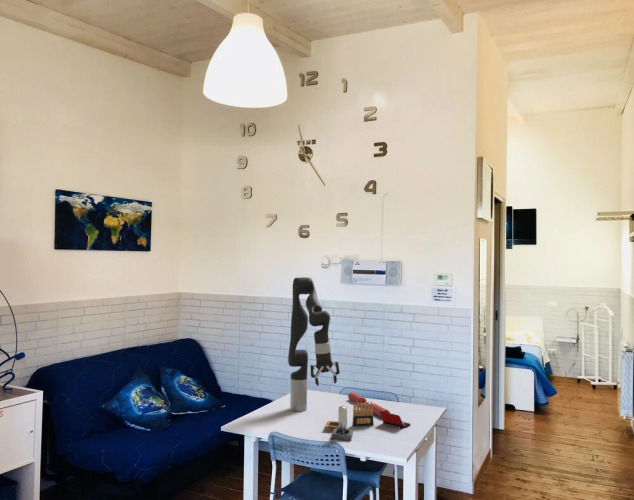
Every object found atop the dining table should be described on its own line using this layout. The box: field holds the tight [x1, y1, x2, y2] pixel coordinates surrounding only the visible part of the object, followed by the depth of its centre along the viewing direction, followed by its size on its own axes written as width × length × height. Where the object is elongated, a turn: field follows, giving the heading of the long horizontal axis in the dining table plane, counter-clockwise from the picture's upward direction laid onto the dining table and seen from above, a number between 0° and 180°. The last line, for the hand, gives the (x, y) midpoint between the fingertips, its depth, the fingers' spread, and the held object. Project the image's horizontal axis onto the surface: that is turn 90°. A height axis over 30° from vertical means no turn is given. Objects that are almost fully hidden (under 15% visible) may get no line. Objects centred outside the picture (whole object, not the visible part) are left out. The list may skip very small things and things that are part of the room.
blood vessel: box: [347, 391, 391, 419], centre depth 306 cm, size 42×5×5 cm, turn 22°
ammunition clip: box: [352, 401, 375, 427], centre depth 274 cm, size 11×2×12 cm, turn 101°
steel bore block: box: [331, 428, 354, 441], centre depth 256 cm, size 9×9×2 cm
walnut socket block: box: [324, 420, 338, 433], centre depth 268 cm, size 9×9×2 cm
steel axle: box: [337, 405, 348, 434], centre depth 256 cm, size 4×4×14 cm
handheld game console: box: [380, 411, 411, 429], centre depth 276 cm, size 12×11×7 cm
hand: (326, 384), depth 267 cm, fingers open, 8 cm apart
